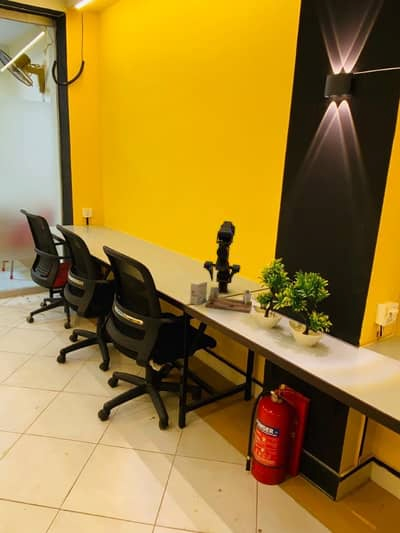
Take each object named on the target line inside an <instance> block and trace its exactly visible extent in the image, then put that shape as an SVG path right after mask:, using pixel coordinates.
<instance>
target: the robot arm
mask: <svg viewBox="0 0 400 533" xmlns="http://www.w3.org/2000/svg"><path fill="white" fill-rule="evenodd" d="M222 222H223V223H222V224H221V225H220V228H219V229H218V231H217V233H216V241H215V243H216V244H217V245H218V247H217V248H216V256H217V259H216V261H215V263H214V262H213V261H211V260H206V261H205V262H204V263H203V269H205V270H206V271H208V273H209V277H210V279H211V282H213V280H214V269H215V271H216V276H215V277H216V279H215V280H216V281H215V282H216V283H218V284H217V286H218V287H217V288H219V293H220V294H228V293H229V284H231V283H233V282H232V280H233V277H234V275H236V274H237V273H238V274H239V273H240V272H241V267H242V266H241V265H240V264H235V263H234V264H232V265H230V262H229V259H230V250H231V245H232V244H233V243H234V237H235V234H236V225H234V224H233V222H232V221H231V220H230V221H227V220H224V221H222Z"/></svg>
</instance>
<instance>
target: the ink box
mask: <svg viewBox="0 0 400 533" xmlns="http://www.w3.org/2000/svg"><path fill="white" fill-rule="evenodd" d="M207 291H208V281H205V280H203V279H201V280H197V281H194V282H193V281H192V282H191V283H190V296H189V297H190V298H189V304H192V305H194V306H199V305H201V304H205V303H207V293H208V292H207Z"/></svg>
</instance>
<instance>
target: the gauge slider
mask: <svg viewBox="0 0 400 533" xmlns="http://www.w3.org/2000/svg"><path fill="white" fill-rule="evenodd" d="M251 297H252V291H250V290H249V289H248V290H244V291H243V294H242V300H243V302H245V306H244V307H246V302H250V301H251Z"/></svg>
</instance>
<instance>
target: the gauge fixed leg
mask: <svg viewBox="0 0 400 533" xmlns="http://www.w3.org/2000/svg"><path fill="white" fill-rule="evenodd" d="M209 296H210V298H211V303H213V298H218V297H219V288H218V287H216V286H211V287H210V293H209Z"/></svg>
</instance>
